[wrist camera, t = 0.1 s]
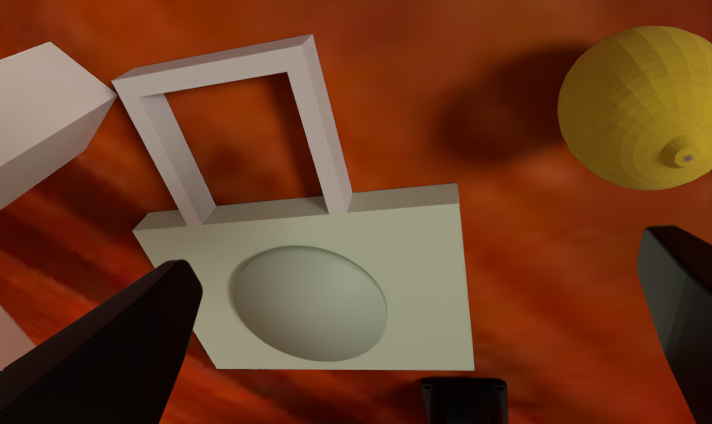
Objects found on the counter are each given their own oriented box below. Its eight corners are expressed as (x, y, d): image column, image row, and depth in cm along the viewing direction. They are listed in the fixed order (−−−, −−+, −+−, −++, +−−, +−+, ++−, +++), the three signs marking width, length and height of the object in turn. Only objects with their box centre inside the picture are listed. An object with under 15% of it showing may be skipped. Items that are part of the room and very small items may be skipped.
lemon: (525, 120, 21) (562, 215, 15) (568, -3, 18) (639, 51, 12) (640, 138, 21) (729, 242, 15) (706, 16, 18) (857, 82, 11)
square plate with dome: (472, 346, 32) (475, 380, 29) (226, 347, 37) (212, 377, 34) (441, 8, 19) (441, 23, 17) (73, 79, 24) (35, 98, 22)
